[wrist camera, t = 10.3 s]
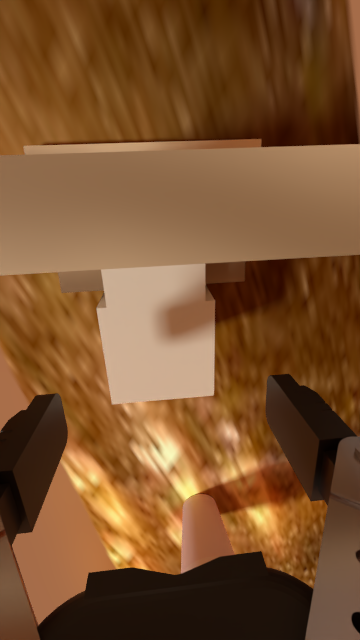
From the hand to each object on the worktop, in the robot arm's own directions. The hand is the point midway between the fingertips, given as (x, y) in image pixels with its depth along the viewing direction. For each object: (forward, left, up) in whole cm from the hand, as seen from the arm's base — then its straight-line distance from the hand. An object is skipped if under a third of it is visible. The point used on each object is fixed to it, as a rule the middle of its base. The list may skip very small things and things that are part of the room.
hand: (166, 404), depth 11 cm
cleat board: (-7, 0, -14) cm, 16 cm away
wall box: (0, 0, -12) cm, 12 cm away
